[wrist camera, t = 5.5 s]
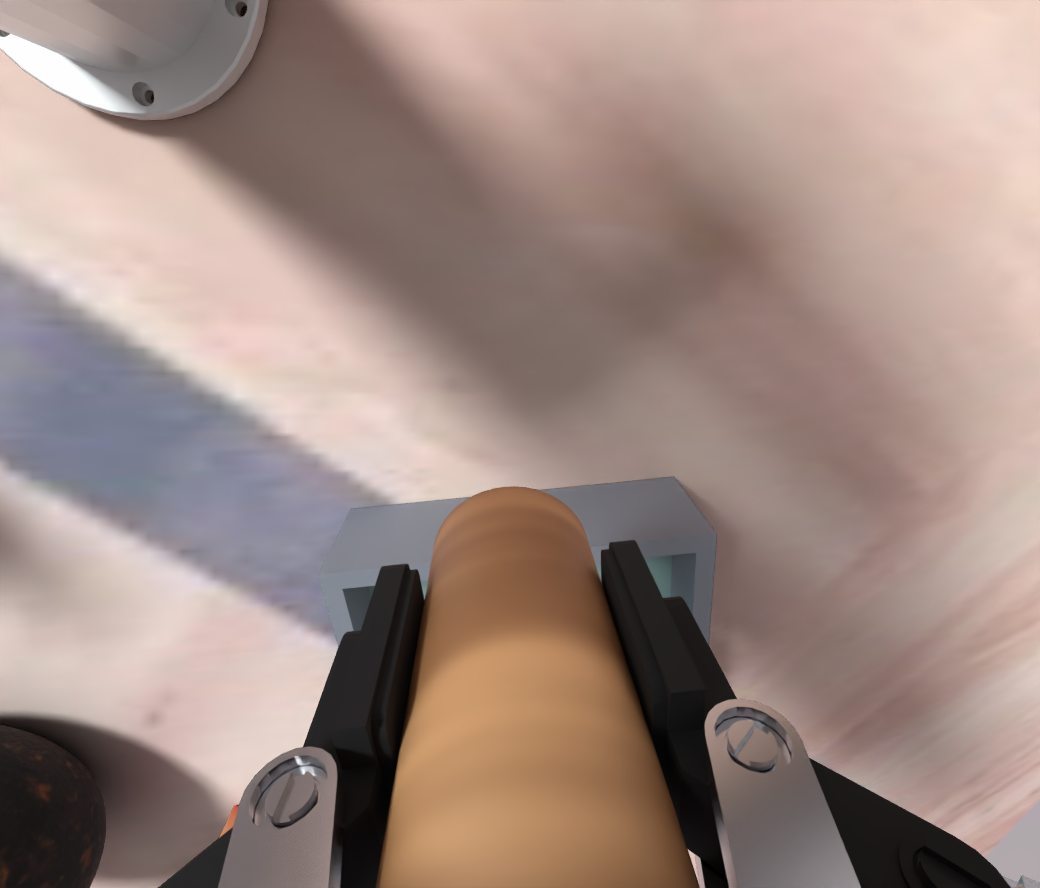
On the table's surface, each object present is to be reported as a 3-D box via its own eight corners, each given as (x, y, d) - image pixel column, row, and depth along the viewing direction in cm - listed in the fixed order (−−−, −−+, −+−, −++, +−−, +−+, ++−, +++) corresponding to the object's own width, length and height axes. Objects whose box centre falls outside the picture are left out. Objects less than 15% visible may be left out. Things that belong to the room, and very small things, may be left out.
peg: (421, 495, 12) (229, 1275, 3) (585, 478, 12) (866, 1192, 3) (444, 623, 14) (361, 1396, 5) (590, 608, 14) (786, 1336, 5)
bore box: (350, 508, 31) (317, 574, 25) (674, 476, 32) (717, 534, 26) (406, 736, 39) (391, 828, 33) (665, 708, 39) (696, 794, 33)
